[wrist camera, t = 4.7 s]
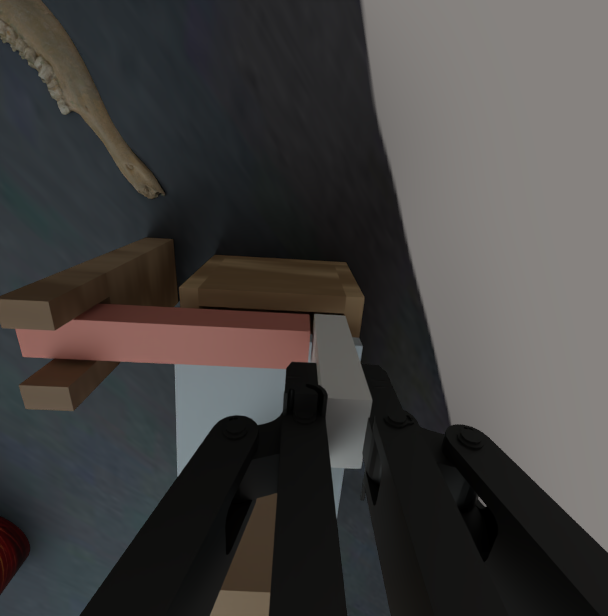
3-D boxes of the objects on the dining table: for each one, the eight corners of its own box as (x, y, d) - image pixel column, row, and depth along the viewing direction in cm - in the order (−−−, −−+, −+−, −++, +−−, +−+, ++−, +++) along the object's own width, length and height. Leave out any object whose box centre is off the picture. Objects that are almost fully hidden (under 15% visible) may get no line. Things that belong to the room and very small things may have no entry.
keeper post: (178, 302, 27) (73, 410, 14) (152, 300, 27) (25, 408, 14) (173, 239, 25) (48, 301, 13) (146, 237, 25) (-7, 298, 12)
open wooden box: (327, 428, 32) (336, 507, 24) (220, 424, 31) (196, 502, 24) (345, 262, 26) (364, 297, 18) (214, 254, 25) (178, 287, 18)
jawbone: (-126, -142, 18) (-175, -183, 16) (218, 82, 23) (212, 70, 21) (-157, 28, 20) (-204, 10, 18) (164, 204, 25) (154, 204, 23)
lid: (327, 533, 25) (342, 715, 16) (189, 526, 24) (128, 708, 16) (356, 331, 20) (401, 430, 11) (187, 318, 20) (97, 409, 11)
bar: (306, 349, 18) (307, 370, 16) (53, 337, 17) (23, 357, 15) (309, 314, 17) (310, 331, 15) (44, 300, 16) (11, 316, 15)
